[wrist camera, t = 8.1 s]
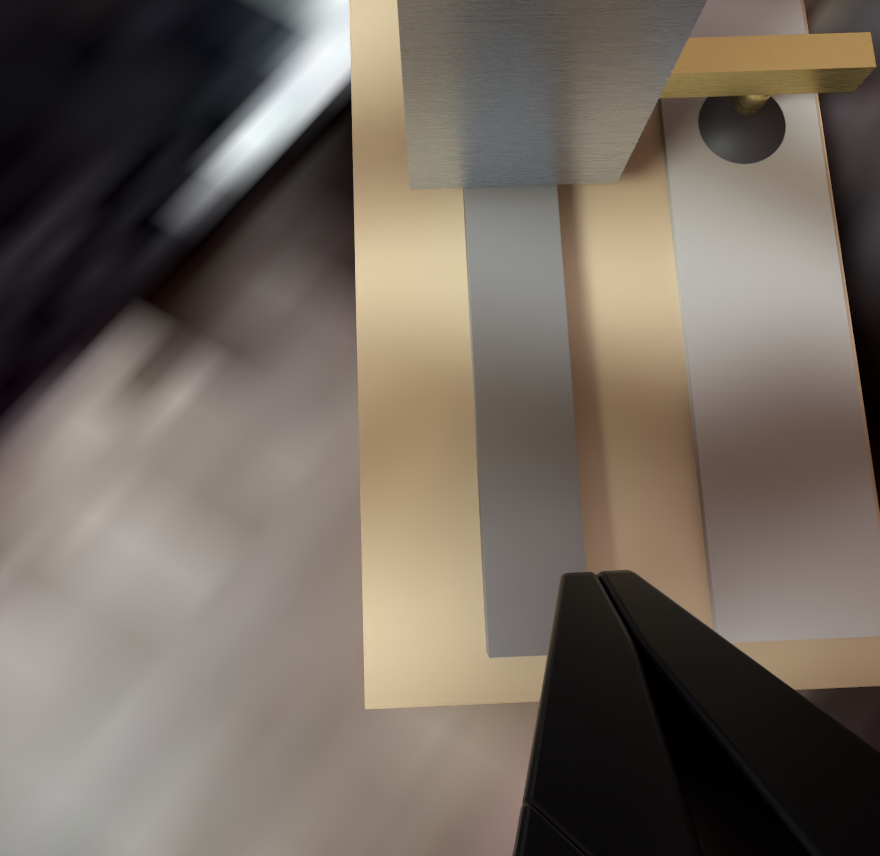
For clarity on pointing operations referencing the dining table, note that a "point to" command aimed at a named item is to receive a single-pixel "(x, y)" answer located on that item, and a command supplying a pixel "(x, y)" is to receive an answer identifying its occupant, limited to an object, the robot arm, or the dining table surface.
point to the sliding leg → (581, 82)
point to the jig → (609, 392)
